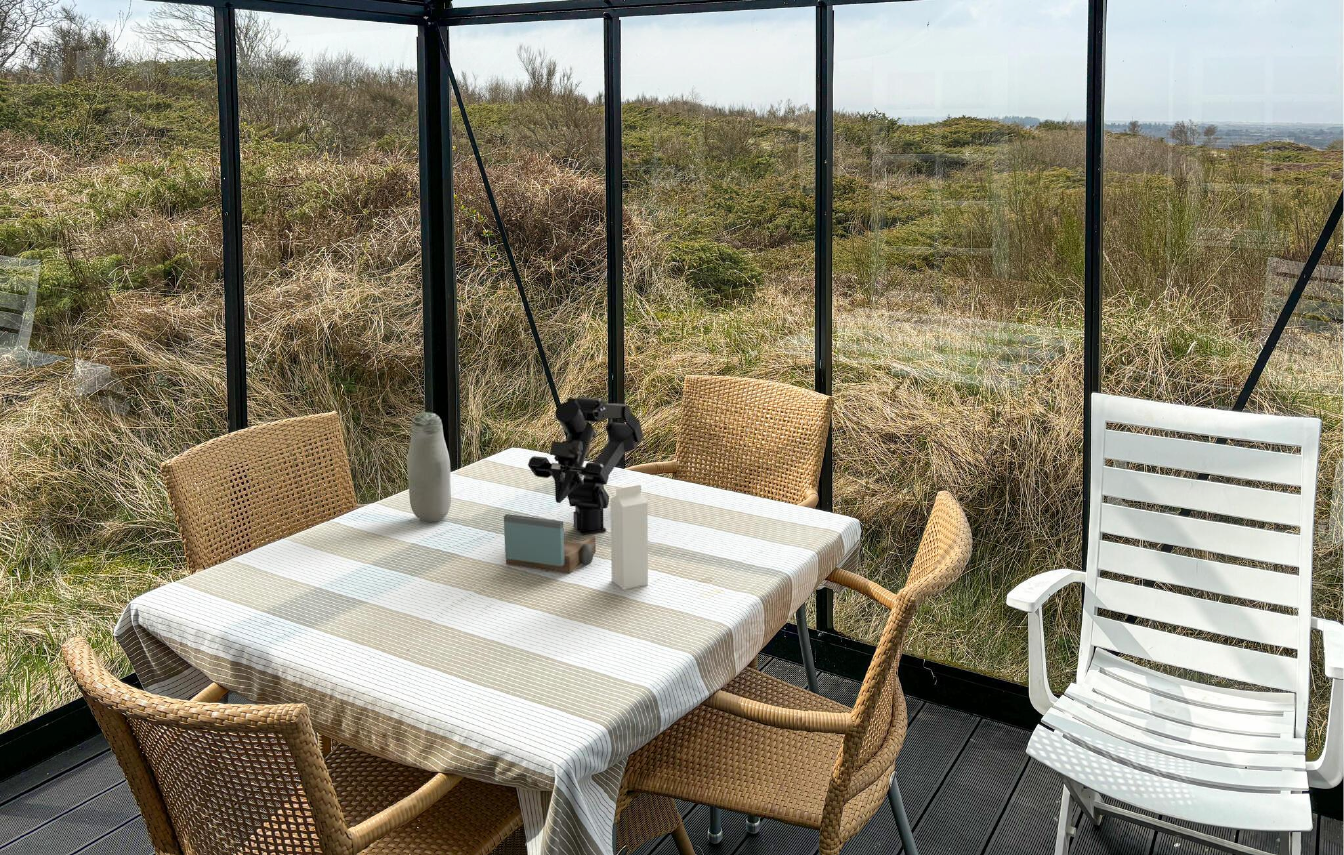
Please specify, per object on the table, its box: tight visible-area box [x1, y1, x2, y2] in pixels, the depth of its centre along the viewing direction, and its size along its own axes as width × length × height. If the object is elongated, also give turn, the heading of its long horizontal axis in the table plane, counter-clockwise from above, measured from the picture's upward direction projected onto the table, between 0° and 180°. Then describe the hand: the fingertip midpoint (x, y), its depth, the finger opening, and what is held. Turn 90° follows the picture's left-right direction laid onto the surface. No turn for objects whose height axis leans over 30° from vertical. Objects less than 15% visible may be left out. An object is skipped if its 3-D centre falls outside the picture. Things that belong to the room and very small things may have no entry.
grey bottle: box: [406, 411, 452, 523], centre depth 288 cm, size 10×10×28 cm
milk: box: [609, 484, 649, 591], centre depth 249 cm, size 6×6×22 cm
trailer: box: [505, 535, 597, 575], centre depth 265 cm, size 14×19×4 cm
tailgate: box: [503, 513, 565, 566], centre depth 257 cm, size 2×14×10 cm, turn 69°
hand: (557, 502), depth 266 cm, fingers closed
